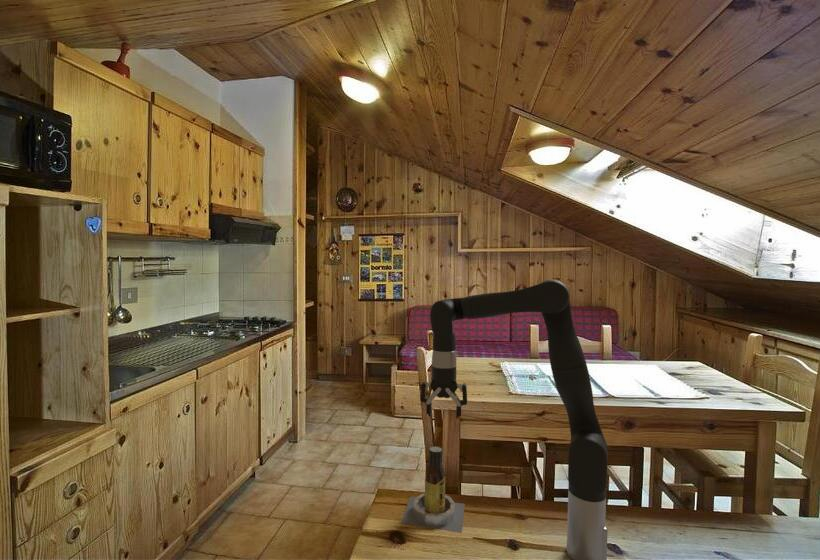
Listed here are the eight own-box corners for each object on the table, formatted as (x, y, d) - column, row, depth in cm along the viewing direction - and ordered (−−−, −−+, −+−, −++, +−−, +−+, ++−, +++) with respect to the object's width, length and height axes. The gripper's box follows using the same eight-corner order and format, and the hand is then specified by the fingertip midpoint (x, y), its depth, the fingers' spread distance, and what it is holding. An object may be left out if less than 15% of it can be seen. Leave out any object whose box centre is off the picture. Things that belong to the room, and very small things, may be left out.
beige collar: (456, 504, 125) (456, 494, 125) (452, 529, 113) (452, 519, 113) (417, 499, 128) (418, 489, 128) (410, 523, 116) (410, 513, 116)
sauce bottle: (443, 521, 117) (444, 455, 116) (422, 518, 118) (423, 453, 117) (445, 508, 123) (446, 446, 122) (426, 505, 124) (427, 443, 124)
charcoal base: (464, 507, 126) (464, 503, 126) (461, 536, 112) (461, 532, 112) (409, 500, 129) (410, 496, 129) (400, 527, 115) (400, 523, 115)
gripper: (467, 362, 123) (467, 414, 123) (423, 360, 126) (422, 410, 126) (466, 368, 116) (466, 422, 116) (419, 366, 118) (419, 419, 118)
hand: (443, 416), depth 121 cm, fingers open, 8 cm apart
